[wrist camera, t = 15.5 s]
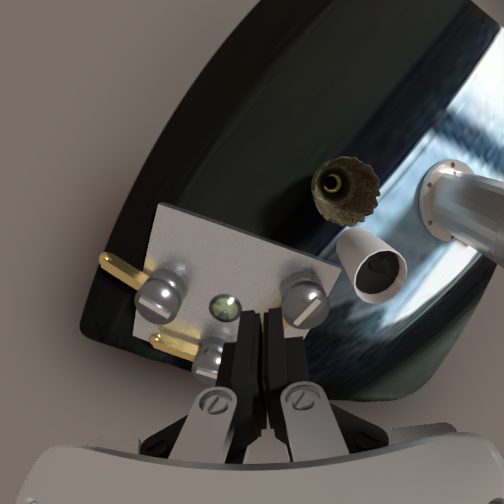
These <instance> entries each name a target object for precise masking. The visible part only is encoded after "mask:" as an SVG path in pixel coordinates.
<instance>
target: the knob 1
mask: <svg viewBox="0 0 504 504" xmlns="http://www.w3.org/2000/svg"><path fill="white" fill-rule="evenodd" d="M99 263H100V265H101V268H103V269H104V270H106V271H108V272H109V273H111V274H112V275H114V276H115V277H117V278H118V279H120V280H122V281H123V282H125V283H126V284H128V285H129V286H131V287H133V288H134V289H136V290H138V292H137V293H136V296H135V306H136V308H137V310H138V312H139V314H140V315H141V316H142V317H143V318H144V319H146V320H147V321H149V322H151V323H153V324H157V325H165V324H168V323H170V322H172V321H173V320H174V319H175V318H176V316H177V313H178V311H179V309H180V307H181V305H182V303H183V301H184V298H185V296H186V285H185V283H184V281H183V279H182V278H181V277H180V276H179V275H178V274H177V273H175V272H174V271H171V270H168V269H159V270H156V271H154V272H153V273H152V274H151V275H150V276H147V275H146V274H144V273H143V272H141V271H139V270H138V269H136V268H134V267H133V266H131V265H130V264H128V263H126V262H125V261H123V260H122V259H120V258H119V257H117V256H115V255H114V254H112V253H111V254H110V253H108V252H104V253H102V254H101V255H100V257H99Z"/></svg>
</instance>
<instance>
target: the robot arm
mask: <svg viewBox="0 0 504 504" xmlns="http://www.w3.org/2000/svg"><path fill="white" fill-rule="evenodd" d="M427 184H428V185H427ZM419 210H420V216H421V219H422V222H423V224H424V226H425V227H426V229H427V230H428V231H429V232H430V233H431V234H432V235H433V236H435V237H436V238H438V239H440V240H443V241H453V240H456V239H459V240H461V241H462V242H464V243H466V244H467V245H469V246H471V247H472V248H474V249H475V250H477V251H478V252H480V253H482V254H483V255H485V256H486V257H488V258H489V259H491V260H492V261H494V262H495V263H497V264H498V265H500V266H501V267H503V268H504V182H501V181H498V180H494V179H490V178H486V177H483V176H479V175H475V174H474V173H473V171H472V170H471V169H470V167H469V166H468V165H466V164H465V163H463V162H462V161H459V160H454V159H445V160H442V161H440V162H438V163H436V164H435V165H434V166H433V167H432V168H431V169H430V170H429V171H428V173H427V174H426V176H425V178H424V180H423V183H422V186H421V189H420V195H419ZM267 412H268V417H269V423H270V428H271V429H274V431H275V437H276V438H277V439H279V440H280V441H281V442H283V443H285V444H286V449H287V454H288V458H289V462H287V463H269V464H247V461H248V457H249V453H250V449H251V445H250V444H251V443H252V442H254V441H255V440H256V439H257V438H258V437H261V429H266V428H267ZM15 504H504V461H503V459H502V457H501V455H500V454H499V452H498V451H497V449H496V448H495V446H494V445H493V444H492V443H491V442H490V441H489V440H488V439H487V438H486V437H484V436H483V435H480V434H477V433H470V432H457V431H456V429H455V427H453V426H452V425H451V424H449V423H444V422H442V423H441V422H439V423H432V424H424V425H415V426H404V427H393V428H392V430H383V429H382V428H380V427H378V426H376V425H374V424H372V423H370V422H367V421H365V420H363V419H361V418H359V417H357V416H355V415H353V414H351V413H349V412H347V411H345V410H343V409H341V408H339V407H337V406H335V405H333V404H331V403H329V402H328V399H327V397H326V394H325V392H324V390H323V389H322V387H320V386H319V385H318V384H315V383H313V382H310V377H309V370H308V364H307V357H306V351H305V345H304V339H303V336H299V337H290V338H285V337H284V327H283V317H282V307H279V308H269V309H268V312H264V316H263V331H262V324H261V317H260V313H255V310H247V311H241V314H240V320H239V327H238V333H237V340H236V342H227V343H224V345H223V350H222V355H221V359H220V364H219V369H218V374H217V379H216V384H215V387H213V388H209V389H206V390H204V391H203V392H201V393H200V394H199V395H198V397H197V398H196V400H195V402H194V404H193V406H192V408H191V410H190V412H189V414H188V415H187V416H185V417H183V418H182V419H180V420H178V421H177V422H175V423H173V424H171V425H170V426H168V427H166V428H165V429H163V430H161V431H159V432H157V433H156V434H154V435H152V436H150V437H149V438H147V439H146V440H145V441H140V440H139V439H119V440H117V439H116V440H115V439H114V440H113V439H111V440H110V439H97V440H92V441H90V442H88V443H87V444H86V445H83V444H67V445H59V446H55V447H51V448H49V449H47V450H46V451H45V452H44V453H43V454H42V455H41V456H40V457H39V459H38V460H37V461H36V463H35V464H34V466H33V468H32V469H31V471H30V473H29V474H28V477H27V478H26V481H25V482H24V484H23V486H22V488H21V490H20V493H19V495H18V497H17V500H16V502H15Z"/></svg>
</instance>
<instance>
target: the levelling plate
mask: <svg viewBox="0 0 504 504" xmlns="http://www.w3.org/2000/svg"><path fill="white" fill-rule="evenodd" d="M159 269H168V270H171V271H174V272H175V273H177V274H178V275H179V276H180V277H181V278H182V279H183V281H184V283H185V285H186V296H185V298H184V301H183V303H182V305H181V307H180V309H179V311H178V313H177V316H176V318H175V319H174V320H173V321H172V322H170V323H168V324H165V325H157V324H153V323H151V322H149V321H147V320H146V319H144V318H143V317H142V316H141V315H140V314H139V312H138V310H137V309H136V315H135V322H134V329H133V336H136V337H138V338H141V339H143V340H146V341H148V342H150V341H149V337H150V335H151V334H152V333H159V332H161V333H163V334H166V335H169V336H172V337H174V338H177V339H180V340H183V341H186V342H189V343H191V344H194V345H197V346H198V345H199V343H200V342H201V341H202V340H203V339H205V338H209V337H218V338H222V339H224V340H226V341H228V342H236V340H237V333H238V327H239V320H240V314H241V311H247V310H255V313H260V317H261V324H262V329H263V316H264V312H268V309H269V308H279V307H282V306H281V297H280V288H281V285H282V283H283V281H284V280H285V279H286V278H287V277H288V276H289V275H291V274H293V273H296V272H300V271H306V272H310V273H313V274H315V275H316V276H317V277H318V278H319V279H320V281H321V283H322V285H323V288H324V290H325V293H326V295H327V297H328V295H329V294H330V292H331V290H332V288H333V286H334V284H335V282H336V280H337V278H338V276H339V274H340V272H341V270H342V268H341V266H340V265H339V264H336V263H334V262H331V261H328V260H326V259H323V258H320V257H317V256H315V255H312V254H309V253H306V252H304V251H301V250H298V249H296V248H293V247H290V246H287V245H284V244H282V243H279V242H276V241H273V240H271V239H268V238H265V237H262V236H259V235H257V234H254V233H251V232H248V231H245V230H242V229H240V228H237V227H234V226H231V225H228V224H225V223H222V222H220V221H217V220H214V219H211V218H208V217H205V216H202V215H199V214H197V213H194V212H191V211H188V210H185V209H182V208H179V207H176V206H173V205H170V204H167V203H164V202H161V203H159V204H158V207H157V211H156V215H155V219H154V223H153V228H152V232H151V236H150V241H149V245H148V250H147V254H146V259H145V264H144V269H143V273H144V274H146V275H147V276H150V275H151V274H152V273H153V272H154V271H156V270H159ZM309 330H310V329H305V330H303V329H296V328H294V327H292V326H290V325H289V326H288V327H287V328H286V329H285V330H284V337H285V338H290V337H299V336H303V339H304V338H305V337H306V335H307V333H308V332H309Z"/></svg>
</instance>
